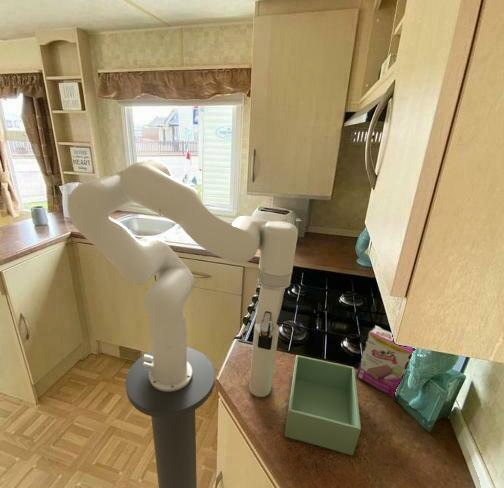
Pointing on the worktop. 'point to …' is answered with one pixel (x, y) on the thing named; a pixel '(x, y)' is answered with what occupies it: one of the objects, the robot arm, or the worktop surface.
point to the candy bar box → (383, 361)
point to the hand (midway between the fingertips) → (267, 336)
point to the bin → (324, 405)
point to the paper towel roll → (262, 363)
